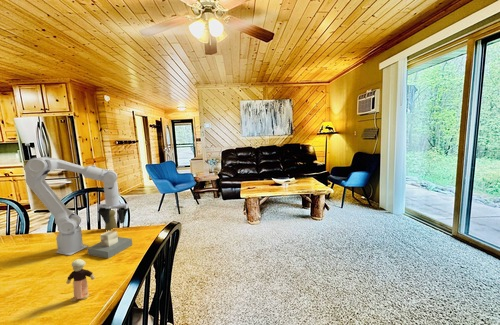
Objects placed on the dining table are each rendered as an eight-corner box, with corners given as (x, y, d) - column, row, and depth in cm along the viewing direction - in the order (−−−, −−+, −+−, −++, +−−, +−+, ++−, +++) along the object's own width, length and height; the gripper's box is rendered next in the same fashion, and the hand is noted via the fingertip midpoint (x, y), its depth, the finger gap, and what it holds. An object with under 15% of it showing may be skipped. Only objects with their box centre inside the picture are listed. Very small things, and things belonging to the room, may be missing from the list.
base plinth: (88, 254, 93) (87, 248, 92) (113, 241, 104) (112, 235, 104) (108, 258, 89) (107, 251, 89) (132, 244, 100) (131, 238, 100)
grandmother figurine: (64, 305, 64) (59, 266, 62) (69, 297, 67) (64, 259, 66) (95, 297, 67) (91, 259, 65) (98, 289, 70) (94, 253, 69)
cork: (111, 232, 115) (109, 212, 114) (102, 231, 117) (100, 212, 115) (120, 227, 121) (118, 208, 120) (111, 226, 123) (109, 208, 121)
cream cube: (101, 245, 94) (100, 234, 94) (110, 240, 99) (109, 230, 98) (109, 246, 93) (107, 235, 92) (118, 241, 97) (117, 231, 97)
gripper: (91, 198, 98) (94, 226, 100) (120, 197, 98) (123, 226, 99) (102, 194, 105) (105, 220, 107) (130, 193, 105) (132, 220, 106)
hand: (114, 222), depth 104 cm, fingers open, 7 cm apart
